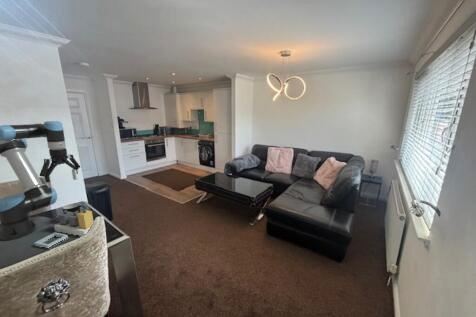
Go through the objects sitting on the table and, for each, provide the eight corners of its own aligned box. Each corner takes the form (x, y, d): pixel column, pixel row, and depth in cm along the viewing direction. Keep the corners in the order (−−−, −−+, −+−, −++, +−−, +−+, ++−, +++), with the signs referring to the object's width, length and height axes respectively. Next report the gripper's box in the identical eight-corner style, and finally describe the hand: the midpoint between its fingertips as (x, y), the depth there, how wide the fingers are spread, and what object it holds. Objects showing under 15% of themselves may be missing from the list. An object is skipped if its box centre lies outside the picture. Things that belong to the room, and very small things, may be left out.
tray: (35, 245, 108) (34, 242, 107) (55, 235, 117) (54, 232, 117) (48, 248, 105) (47, 245, 105) (68, 237, 115) (67, 234, 114)
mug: (66, 224, 129) (63, 210, 127) (63, 219, 135) (61, 206, 132) (88, 217, 138) (86, 204, 136) (85, 213, 144) (82, 200, 141)
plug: (80, 231, 119) (76, 210, 116) (88, 227, 124) (84, 207, 121) (86, 233, 118) (83, 211, 115) (94, 228, 123) (91, 208, 120)
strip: (55, 231, 121) (51, 213, 119) (72, 222, 131) (68, 206, 128) (84, 237, 116) (81, 219, 113) (100, 228, 125) (97, 211, 122)
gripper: (35, 153, 100) (43, 191, 105) (84, 145, 124) (88, 177, 128) (25, 151, 102) (33, 189, 107) (75, 144, 125) (79, 176, 130)
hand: (63, 183), depth 118 cm, fingers open, 13 cm apart
